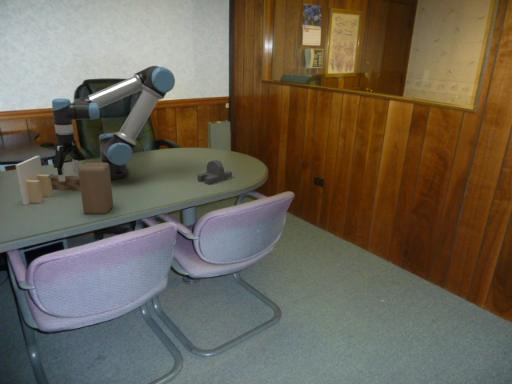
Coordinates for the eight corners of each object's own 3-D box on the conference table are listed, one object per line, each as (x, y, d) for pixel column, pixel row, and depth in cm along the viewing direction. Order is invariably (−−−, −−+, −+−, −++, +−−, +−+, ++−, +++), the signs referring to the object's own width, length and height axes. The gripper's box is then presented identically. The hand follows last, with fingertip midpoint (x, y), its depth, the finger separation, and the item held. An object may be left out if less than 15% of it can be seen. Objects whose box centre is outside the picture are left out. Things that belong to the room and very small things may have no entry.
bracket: (232, 178, 212) (233, 159, 208) (209, 185, 199) (209, 165, 195) (220, 174, 218) (220, 155, 214) (196, 181, 205) (196, 162, 201)
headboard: (56, 193, 180) (50, 156, 173) (37, 205, 166) (30, 165, 159) (42, 192, 180) (36, 155, 174) (23, 204, 166) (15, 165, 159)
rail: (88, 188, 187) (87, 176, 185) (84, 191, 183) (82, 179, 181) (53, 186, 188) (51, 174, 186) (48, 189, 184) (46, 176, 182)
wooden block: (90, 205, 168) (85, 161, 161) (113, 205, 169) (109, 162, 162) (83, 214, 159) (76, 168, 152) (107, 214, 160) (102, 169, 153)
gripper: (70, 127, 188) (75, 168, 195) (40, 138, 164) (47, 184, 171) (85, 128, 187) (89, 169, 195) (57, 139, 164) (63, 185, 171)
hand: (69, 176), depth 183 cm, fingers open, 13 cm apart
